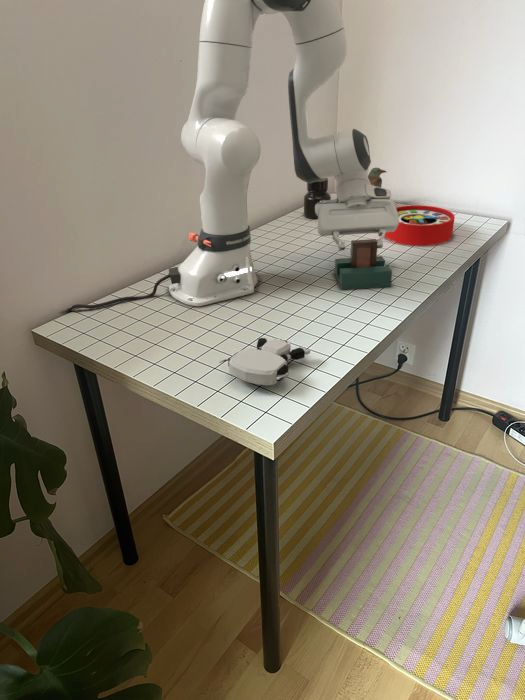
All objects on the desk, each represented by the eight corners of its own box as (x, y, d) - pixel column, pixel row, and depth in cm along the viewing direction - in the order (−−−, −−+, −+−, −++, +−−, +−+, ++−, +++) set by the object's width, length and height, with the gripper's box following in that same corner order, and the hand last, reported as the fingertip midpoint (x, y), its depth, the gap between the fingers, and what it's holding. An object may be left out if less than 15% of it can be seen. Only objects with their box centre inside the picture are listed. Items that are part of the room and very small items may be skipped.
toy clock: (379, 206, 171) (444, 204, 170) (378, 224, 174) (442, 222, 173) (391, 226, 154) (463, 224, 153) (389, 246, 157) (460, 244, 156)
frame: (349, 274, 138) (351, 240, 133) (373, 273, 138) (375, 238, 134) (351, 278, 136) (352, 243, 132) (375, 276, 136) (377, 241, 132)
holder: (334, 274, 142) (335, 258, 140) (380, 271, 142) (381, 255, 140) (341, 289, 133) (342, 273, 131) (390, 286, 134) (392, 270, 132)
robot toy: (259, 349, 112) (217, 381, 101) (259, 329, 110) (216, 359, 99) (314, 363, 107) (275, 399, 95) (314, 342, 105) (276, 376, 93)
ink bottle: (333, 212, 188) (334, 176, 182) (329, 219, 180) (330, 182, 174) (305, 211, 190) (305, 175, 184) (300, 219, 182) (300, 182, 176)
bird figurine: (371, 219, 176) (386, 157, 176) (343, 216, 181) (357, 155, 180) (383, 229, 188) (397, 172, 187) (356, 226, 193) (369, 170, 192)
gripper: (315, 194, 137) (320, 245, 134) (396, 189, 138) (404, 240, 134) (312, 207, 143) (317, 256, 140) (390, 202, 144) (397, 251, 140)
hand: (360, 248), depth 137 cm, fingers open, 8 cm apart
